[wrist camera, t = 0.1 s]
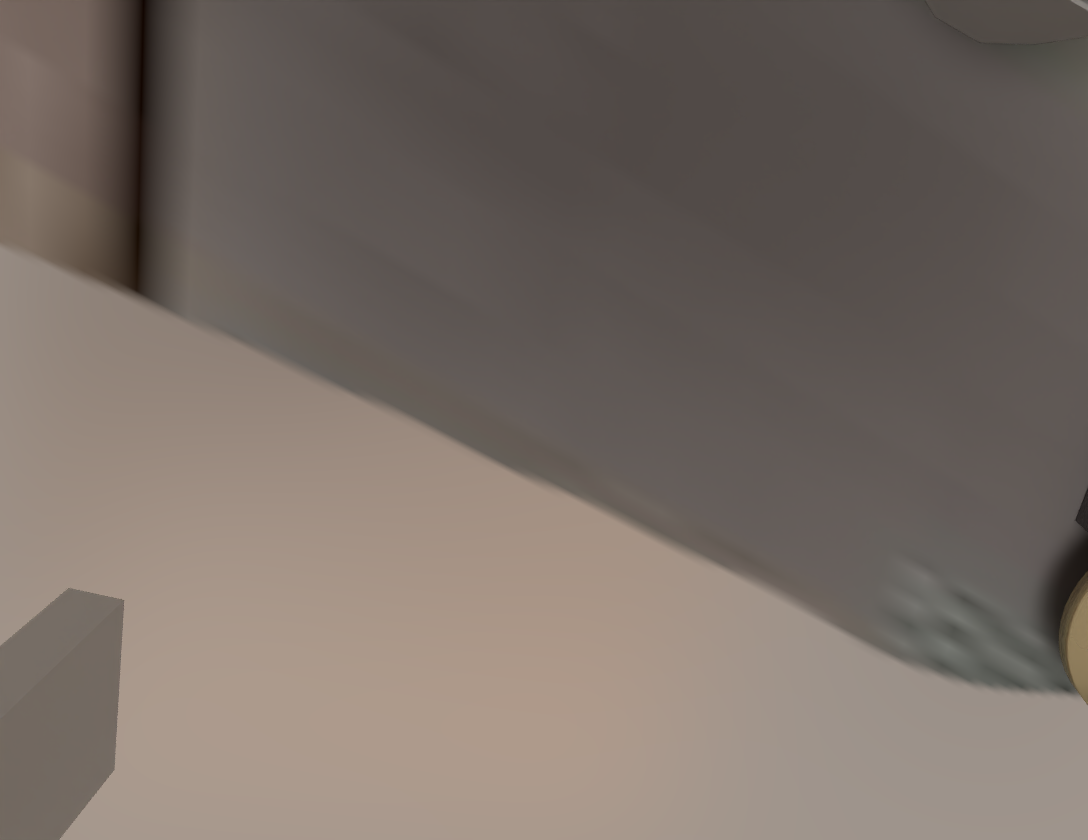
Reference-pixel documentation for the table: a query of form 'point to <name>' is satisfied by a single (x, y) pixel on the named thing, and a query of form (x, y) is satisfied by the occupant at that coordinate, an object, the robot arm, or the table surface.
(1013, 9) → the cup
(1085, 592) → the balance
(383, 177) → the table surface
